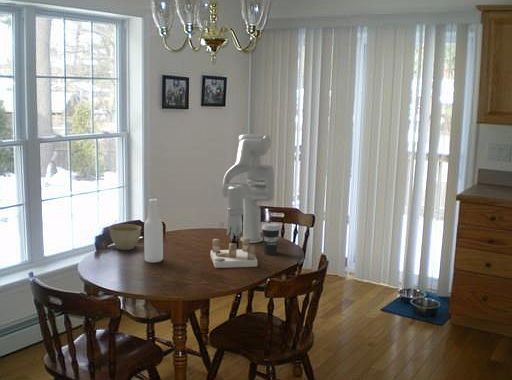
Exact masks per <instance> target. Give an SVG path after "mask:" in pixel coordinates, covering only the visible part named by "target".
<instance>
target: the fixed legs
mask: <svg viewBox="0 0 512 380" xmlns="http://www.w3.org/2000/svg"><path fill="white" fill-rule="evenodd" d="M241 249H242V251H245V252H248V258H247V259H248V260H255V257H256V246H255V245H251V243H250V239H249V238H243V242H242V248H241ZM212 250H213V252H215V253H216V251H220V250H221V239H220V238H213V239H212Z"/></svg>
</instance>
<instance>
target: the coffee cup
mask: <svg viewBox="0 0 512 380" xmlns="http://www.w3.org/2000/svg"><path fill="white" fill-rule="evenodd" d="M261 230H262V238H263V241H262V243H263V253H264V255H267V256H275V255H277V253H278V243H279V235H280V230H281V226H280V224H279V223H274V222H266V223H263V225H262V227H261ZM274 254H275V255H274Z"/></svg>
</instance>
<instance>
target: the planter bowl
mask: <svg viewBox="0 0 512 380" xmlns="http://www.w3.org/2000/svg"><path fill="white" fill-rule="evenodd" d="M141 233H142V226H140V225H138V224H137V225H136V224H126V223H125V224H115V225H112V226H109V235H110V238H111V241H112V243H113V244H114V245H115V248H116V249H117V250H120V251H121V250H122V251H127V250H133V249H135V247H136V245H137V244H138V242H139V240H140V237H141Z"/></svg>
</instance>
